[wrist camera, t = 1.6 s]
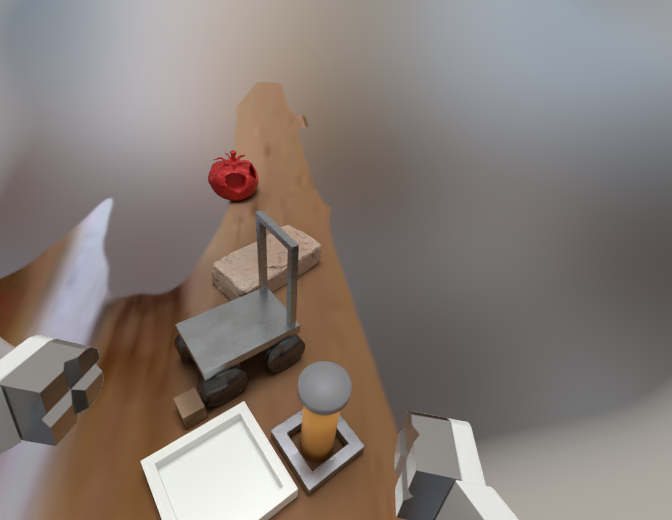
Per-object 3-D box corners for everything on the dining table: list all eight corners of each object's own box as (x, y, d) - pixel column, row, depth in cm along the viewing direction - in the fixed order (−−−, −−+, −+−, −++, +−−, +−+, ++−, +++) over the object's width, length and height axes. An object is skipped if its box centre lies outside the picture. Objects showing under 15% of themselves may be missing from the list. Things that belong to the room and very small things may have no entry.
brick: (244, 313, 55) (242, 290, 52) (210, 284, 59) (207, 261, 56) (321, 265, 65) (323, 243, 62) (289, 242, 69) (289, 221, 66)
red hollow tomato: (201, 194, 79) (193, 151, 73) (237, 177, 85) (232, 137, 80) (233, 211, 75) (228, 167, 69) (269, 192, 81) (266, 151, 75)
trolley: (207, 413, 43) (179, 296, 31) (178, 358, 48) (144, 239, 36) (304, 359, 50) (311, 246, 38) (269, 315, 55) (266, 204, 43)
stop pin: (311, 477, 39) (318, 420, 31) (286, 439, 41) (287, 377, 34) (347, 449, 41) (362, 390, 33) (321, 415, 44) (330, 352, 36)
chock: (186, 429, 41) (182, 418, 40) (177, 409, 43) (173, 398, 41) (207, 417, 42) (204, 406, 41) (197, 398, 44) (194, 387, 42)
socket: (308, 496, 37) (309, 490, 36) (271, 436, 41) (271, 430, 40) (362, 452, 41) (364, 446, 40) (323, 402, 45) (324, 395, 44)
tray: (187, 583, 31) (183, 578, 30) (145, 469, 38) (140, 461, 36) (297, 496, 37) (298, 488, 36) (245, 410, 43) (243, 401, 42)
